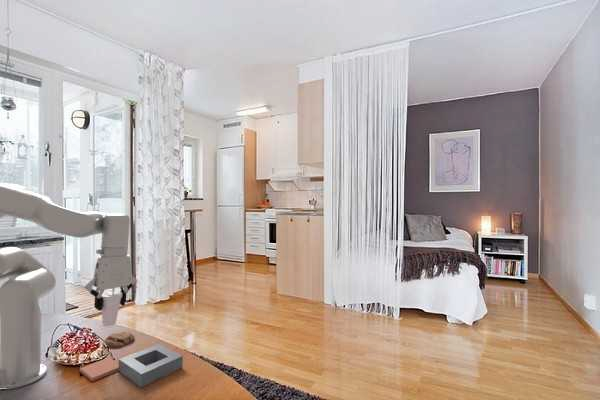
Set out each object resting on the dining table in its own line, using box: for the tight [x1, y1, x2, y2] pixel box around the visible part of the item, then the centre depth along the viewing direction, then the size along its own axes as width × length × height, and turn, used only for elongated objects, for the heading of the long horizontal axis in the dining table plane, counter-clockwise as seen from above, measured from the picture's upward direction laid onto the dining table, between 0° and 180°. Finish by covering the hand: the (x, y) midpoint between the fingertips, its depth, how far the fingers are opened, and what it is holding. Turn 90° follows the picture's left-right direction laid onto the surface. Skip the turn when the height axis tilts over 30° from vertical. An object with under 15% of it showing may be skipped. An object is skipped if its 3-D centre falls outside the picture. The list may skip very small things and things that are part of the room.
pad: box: [79, 356, 119, 382], centre depth 104 cm, size 9×9×1 cm
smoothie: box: [101, 288, 122, 327], centre depth 104 cm, size 6×6×14 cm
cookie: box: [103, 331, 135, 349], centre depth 124 cm, size 10×11×3 cm
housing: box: [117, 343, 184, 388], centre depth 105 cm, size 14×14×4 cm
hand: (110, 306), depth 104 cm, fingers closed on smoothie, 6 cm apart
